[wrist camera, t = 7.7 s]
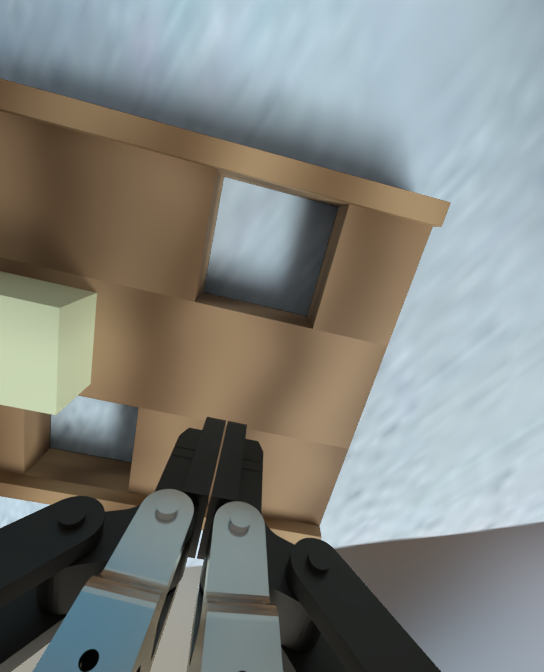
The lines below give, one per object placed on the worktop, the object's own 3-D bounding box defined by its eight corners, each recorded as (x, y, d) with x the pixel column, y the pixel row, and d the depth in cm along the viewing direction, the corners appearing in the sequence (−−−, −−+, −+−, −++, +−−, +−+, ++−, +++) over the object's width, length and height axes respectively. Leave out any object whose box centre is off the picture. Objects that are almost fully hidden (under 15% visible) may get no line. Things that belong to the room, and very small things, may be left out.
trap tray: (418, 206, 17) (466, 200, 13) (310, 506, 23) (319, 568, 19) (-31, 84, 15) (-145, 30, 11) (-14, 449, 21) (-82, 503, 17)
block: (96, 292, 16) (59, 308, 13) (90, 383, 17) (55, 415, 14) (-12, 268, 15) (-76, 278, 12) (-9, 363, 17) (-65, 392, 14)
